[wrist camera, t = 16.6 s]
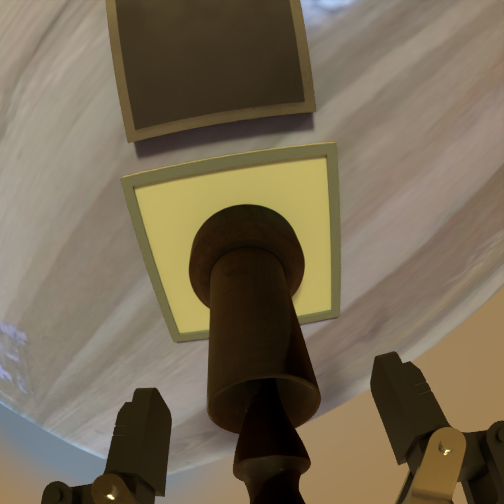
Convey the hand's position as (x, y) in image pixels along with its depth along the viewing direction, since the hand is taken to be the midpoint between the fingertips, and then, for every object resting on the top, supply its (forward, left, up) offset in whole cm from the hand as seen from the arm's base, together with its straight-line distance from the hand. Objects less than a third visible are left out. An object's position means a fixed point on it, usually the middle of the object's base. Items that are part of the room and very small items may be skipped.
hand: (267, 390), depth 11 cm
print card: (0, 0, -11) cm, 11 cm away
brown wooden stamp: (0, 0, -10) cm, 10 cm away
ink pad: (0, -13, -11) cm, 16 cm away
